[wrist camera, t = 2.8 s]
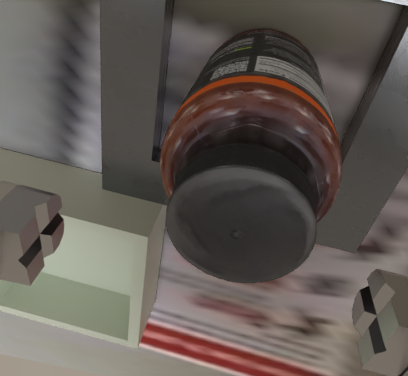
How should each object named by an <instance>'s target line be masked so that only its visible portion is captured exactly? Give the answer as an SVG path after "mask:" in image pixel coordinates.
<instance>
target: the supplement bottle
mask: <svg viewBox="0 0 408 376" xmlns="http://www.w3.org/2000/svg"><path fill="white" fill-rule="evenodd" d="M160 171H161V178H162V182H163V185H164V189H165V191H166V193H167V196H168V197H169V202H168V205H167V210H166V227H167V231H168V234H169V237H170V239H171V241H172V243H173V245H174V246H175V248H176V249H177V250H178V252H179V253H180V254H181V256H182V257H184V258H185V259H186V260H187V261H188V262H190V263H191V264H192V265H194V266H195V267H197V268H198V269H200V270H202V271H203V272H205V273H207V274H209V275H212V276H214V277H217V278H219V279H224V280H227V281H231V282H239V283H257V282H265V281H270V280H274V279H277V278H280V277H282V276H284V275H286V274H288V273H290V272H292V271H293V270H294V269H296V268H298V267H299V266H300V265H301V264H302V263H303V262H304V261H305V260H306V259H307V258H308V256H309V254H310V252H311V251H312V249H313V247H314V244H315V242H316V237H317V223H318V222H319V221H320V220H321V219H322V218H323V217H324V216H325V215H326V213H327V212H328V211H329V209H330V208H331V206H332V204H333V202H334V201H335V198H336V195H337V194H338V191H339V186H340V182H341V177H342V158H341V149H340V145H339V141H338V137H337V133H336V129H335V125H334V122H333V118H332V115H331V111H330V108H329V104H328V101H327V97H326V94H325V90H324V87H323V83H322V79H321V76H320V73H319V71H318V67H317V65H316V62H315V61H314V58H313V57H312V55H311V54H310V52H309V51H308V50H307V49H306V48H305V47H304V46H303V45H302V44H301V43H300V42H299V41H297V40H296V39H294V38H293V37H291V36H289V35H286V34H284V33H281V32H278V31H274V30H268V29H264V30H253V31H248V32H245V33H242V34H239V35H237V36H235V37H233V38H232V39H230V40H228V41H227V42H225V43H224V44H223V45H222V46H221V47H220V48H218V50H217V51H216V52H215V53H214V54H213V55H212V56H211V58H210V59H209V61H208V63H207V64H206V66H205V67H204V69H203V71H202V72H201V74H200V75H199V77H198V79H197V80H196V82H195V84H194V85H193V87H192V88H191V90H190V92H189V93H188V95H187V97H186V98H185V100H184V102H183V103H182V105H181V106H180V108H179V109H178V111H177V114H176V115H175V117H174V118H173V120H172V122H171V124H170V125H169V128H168V131H167V133H166V135H165V138H164V141H163V144H162V149H161V155H160Z"/></svg>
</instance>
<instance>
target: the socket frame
mask: <svg viewBox="0 0 408 376" xmlns="http://www.w3.org/2000/svg"><path fill="white" fill-rule="evenodd" d="M383 1H388V2H392V3H397V4H402V5H405V6H404V9H403V11H402V13H401V15H400V17H399V20H398V22H397V24H396V26H395V28H394V31H393V33H392V35H391V37H390V39H389V41H388V44H387V46H386V48H385V50H384V52H383V55H382V57H381V59H380V61H379V63H378V66H377V68H376V70H375V72H374V74H373V77H372V79H371V81H370V83H369V85H368V88H367V90H366V92H365V94H364V96H363V98H362V101H361V103H360V105H359V107H358V109H357V112H356V114H355V116H354V118H353V120H352V123H351V125H350V127H349V129H348V131H347V134H346V136H345V138H344V140H343V142H342V145H341V147H340V149H341V158H342V177H341V182H340V186H339V191H338V194H337V195H336V198H335V201H334V202H333V204H332V206H331V208H330V209H329V211H328V212H327V213H326V215H325V216H324V217H323V218H322V219H321V220H320V221H319V222H318V223H317V237H316V242H315V243H316V244H320V245H324V246H328V247H332V248H336V249H340V250H344V251H348V252H352V253H355V252H356V251H357V249H358V247H359V246H360V244H361V242H362V241H363V239H364V238H365V236H366V234H367V233H368V231H369V229H370V228H371V226H372V224H373V223H374V221H375V220H376V218H377V216H378V215H379V213H380V211H381V210H382V208H383V207H384V205H385V203H386V202H387V200H388V198H389V197H390V195H391V193H392V192H393V190H394V189H395V187H396V185H397V184H398V182H399V180H400V179H401V177H402V175H403V174H404V172H405V171H406V169H407V167H408V0H383ZM173 5H174V0H100V49H101V130H102V189H104V190H108V191H112V192H115V193H119V194H123V195H127V196H131V197H135V198H139V199H143V200H147V201H151V202H155V203H159V204H163V205H168V202H169V197H168V196H167V193H166V191H165V189H164V185H163V182H162V178H161V171H160V155H161V149H160V148H159V144H160V134H161V125H162V115H163V105H164V95H165V85H166V75H167V65H168V55H169V45H170V35H171V25H172V15H173Z"/></svg>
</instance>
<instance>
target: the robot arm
mask: <svg viewBox="0 0 408 376" xmlns="http://www.w3.org/2000/svg"><path fill="white" fill-rule="evenodd" d="M61 208H62V202H61V196H59V195H58V194H55V193H51V192H47V191H43V190H39V189H36V188H32V187H28V186H24V185H18V184H15V183H11V182H7V181H0V280H5V281H9V282H14V283H18V284H23V285H28V286H31V284H32V283H33V281H34V280H35V279H36V277H37V276H38V274H39V273H40V272H41V270H42V269H43V268H44V266H45V265H44V258H45V257H47V256H49V255H51V254H53V253H54V252H55V251H56V249H57V248H58V246H59V245H60V242H61V239H62V237H63V234H64V219H63V218H62V217H61V215H60V214H59V213H58V211H59V210H60V209H61ZM367 280H368V284H369V286H368V287H366V288H363V289H361V290H360V291H359V292H358V294H357V296H356V297H355V299H354V304H353V308H352V318H353V324H354V327H355V328H356V329H357V331H358V332H359V333H360V334H361V338H360V339H359V341H358V342H357V345H358V350H359V355H360V360H361V365H362V369H365V370H368V371H372V372H375V373H379V374H383V375H386V376H408V276H405V275H401V274H396V273H392V272H387V271H383V270H378V269H376V270H374V271H373V272H372V273H371V274H370V276H369V277H368V278H367Z"/></svg>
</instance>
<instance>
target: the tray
mask: <svg viewBox="0 0 408 376" xmlns="http://www.w3.org/2000/svg"><path fill="white" fill-rule="evenodd" d="M0 181H7V182H11V183H15V184H18V185H24V186H28V187H32V188H36V189H39V190H43V191H47V192H51V193H55V194H58V195H59V196H61V202H62V208H61V209H60V210H59V211H58V213H59V214H60V215H61V217H62V218H63V219H64V234H63V237H62V239H61V242H60V245H59V246H58V248H57V249H56V251H55V252H54V253H53V254H51V255H49V256H47V257H45V258H44V265H45V266H44V268H43V269H42V270H41V272H40V273H39V274H38V276H37V277H36V279H35V280H34V281H33V283H32V284H31V286H28V285H23V284H18V283H14V282H9V281H5V280H0V311H3V312H6V313H10V314H13V315H17V316H20V317H24V318H28V319H31V320H35V321H38V322H42V323H46V324H49V325H53V326H56V327H60V328H63V329H67V330H71V331H74V332H78V333H81V334H85V335H88V336H92V337H96V338H99V339H103V340H106V341H110V342H114V343H117V344H121V345H124V346H128V347H131V348H135V349H138V346H139V344H140V341H141V338H142V335H143V333H144V330H145V327H146V324H147V322H148V319H149V316H150V313H151V311H152V308H153V305H154V302H155V299H156V291H157V284H158V276H159V269H160V261H161V254H162V246H163V239H164V231H165V223H166V210H167V205H163V204H159V203H155V202H151V201H147V200H143V199H139V198H135V197H131V196H127V195H123V194H119V193H115V192H112V191H108V190H104V189H102V174H101V173H97V172H93V171H89V170H85V169H81V168H77V167H73V166H69V165H65V164H61V163H57V162H53V161H49V160H45V159H41V158H37V157H33V156H29V155H25V154H21V153H17V152H13V151H9V150H5V149H1V148H0Z"/></svg>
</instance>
